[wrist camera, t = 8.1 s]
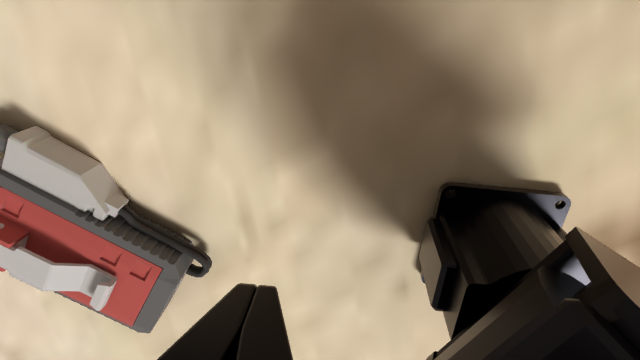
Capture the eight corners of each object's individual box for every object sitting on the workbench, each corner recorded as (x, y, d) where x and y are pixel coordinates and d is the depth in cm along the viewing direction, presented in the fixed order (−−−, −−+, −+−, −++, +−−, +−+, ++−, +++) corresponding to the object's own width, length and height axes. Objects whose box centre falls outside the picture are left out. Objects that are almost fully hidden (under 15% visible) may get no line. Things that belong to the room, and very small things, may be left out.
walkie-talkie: (234, 226, 23) (-104, 43, 20) (208, 274, 19) (-221, 52, 16) (181, 315, 26) (-112, 171, 23) (150, 371, 22) (-210, 205, 19)
